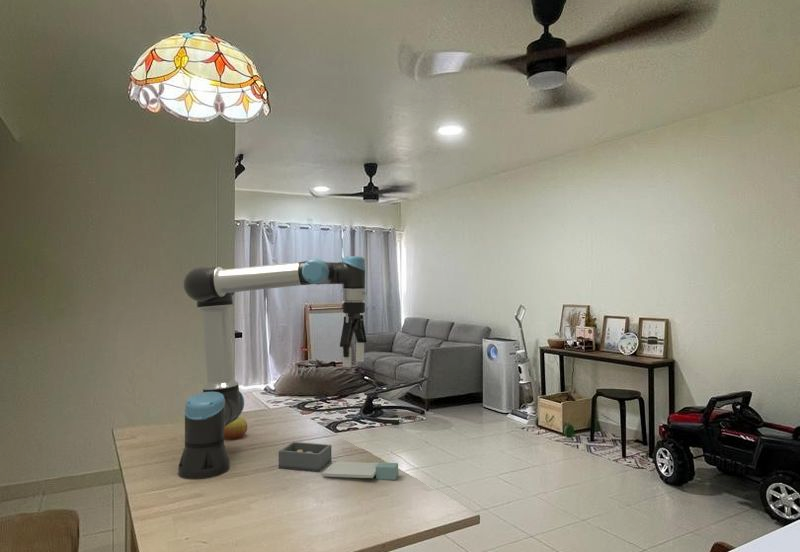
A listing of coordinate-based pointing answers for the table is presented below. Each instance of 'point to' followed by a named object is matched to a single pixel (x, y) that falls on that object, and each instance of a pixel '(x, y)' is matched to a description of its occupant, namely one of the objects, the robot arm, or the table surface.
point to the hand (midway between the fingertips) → (353, 364)
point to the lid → (362, 470)
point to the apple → (235, 429)
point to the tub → (305, 457)
